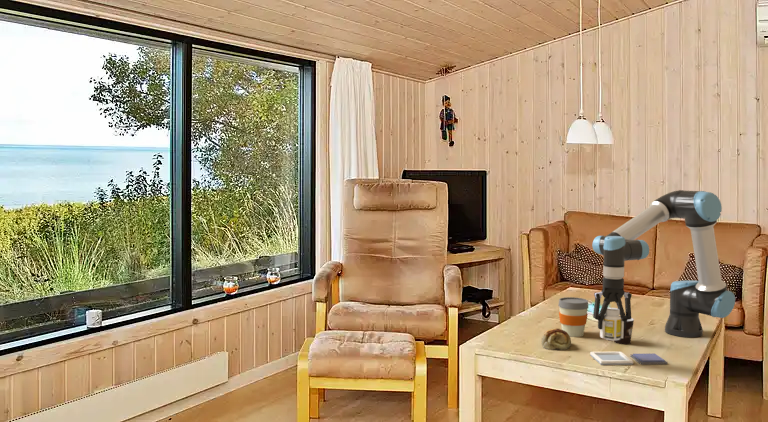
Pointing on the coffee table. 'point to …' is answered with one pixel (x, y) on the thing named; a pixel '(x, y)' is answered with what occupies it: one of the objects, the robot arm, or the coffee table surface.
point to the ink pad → (648, 359)
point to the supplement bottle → (612, 324)
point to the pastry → (556, 339)
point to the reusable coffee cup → (573, 315)
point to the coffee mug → (626, 333)
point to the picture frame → (611, 358)
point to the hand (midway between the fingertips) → (611, 337)
